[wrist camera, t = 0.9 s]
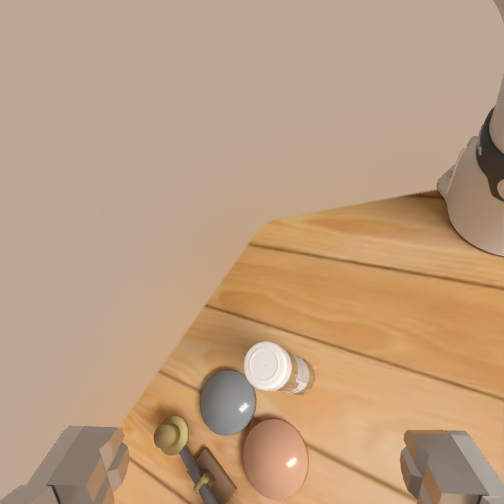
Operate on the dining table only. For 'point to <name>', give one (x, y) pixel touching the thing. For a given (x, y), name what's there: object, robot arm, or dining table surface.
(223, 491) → the balance
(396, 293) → the dining table surface
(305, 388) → the spice jar
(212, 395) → the grey oval pebble
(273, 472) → the peach oval pebble
